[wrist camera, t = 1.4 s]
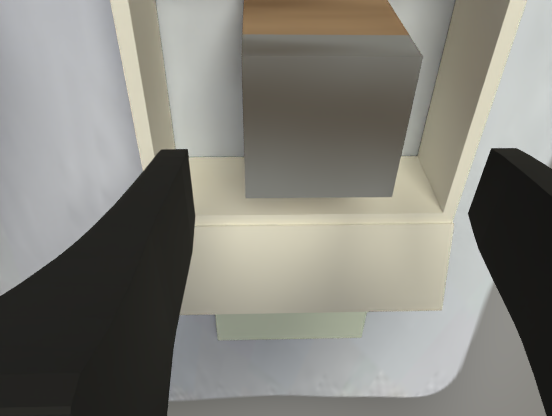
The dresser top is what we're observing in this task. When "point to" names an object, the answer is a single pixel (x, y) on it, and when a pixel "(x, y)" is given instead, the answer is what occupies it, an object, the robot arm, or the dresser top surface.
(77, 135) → the dresser top surface
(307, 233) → the carton
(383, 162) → the walnut block
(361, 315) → the mat
